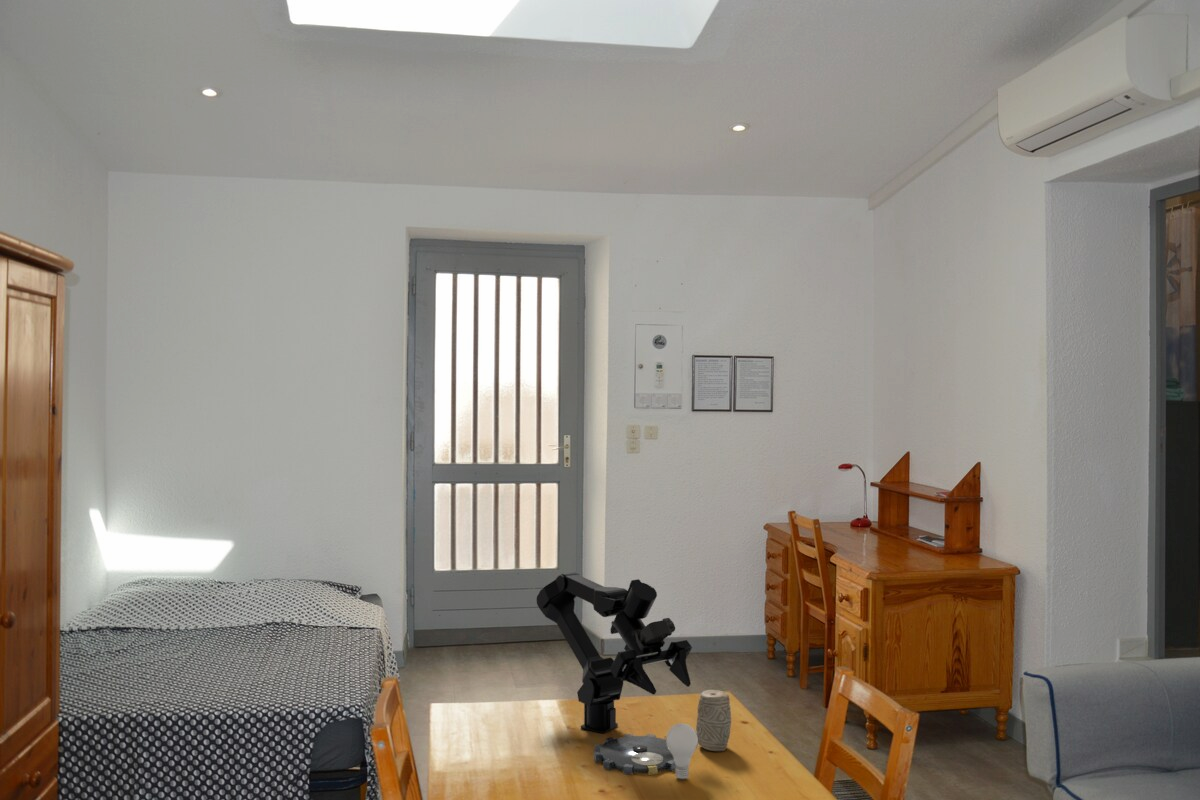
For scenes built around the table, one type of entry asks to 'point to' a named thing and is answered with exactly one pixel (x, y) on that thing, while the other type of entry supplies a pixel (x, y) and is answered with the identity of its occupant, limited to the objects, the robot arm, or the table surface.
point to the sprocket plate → (635, 754)
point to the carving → (713, 720)
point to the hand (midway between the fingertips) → (672, 689)
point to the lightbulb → (682, 747)
